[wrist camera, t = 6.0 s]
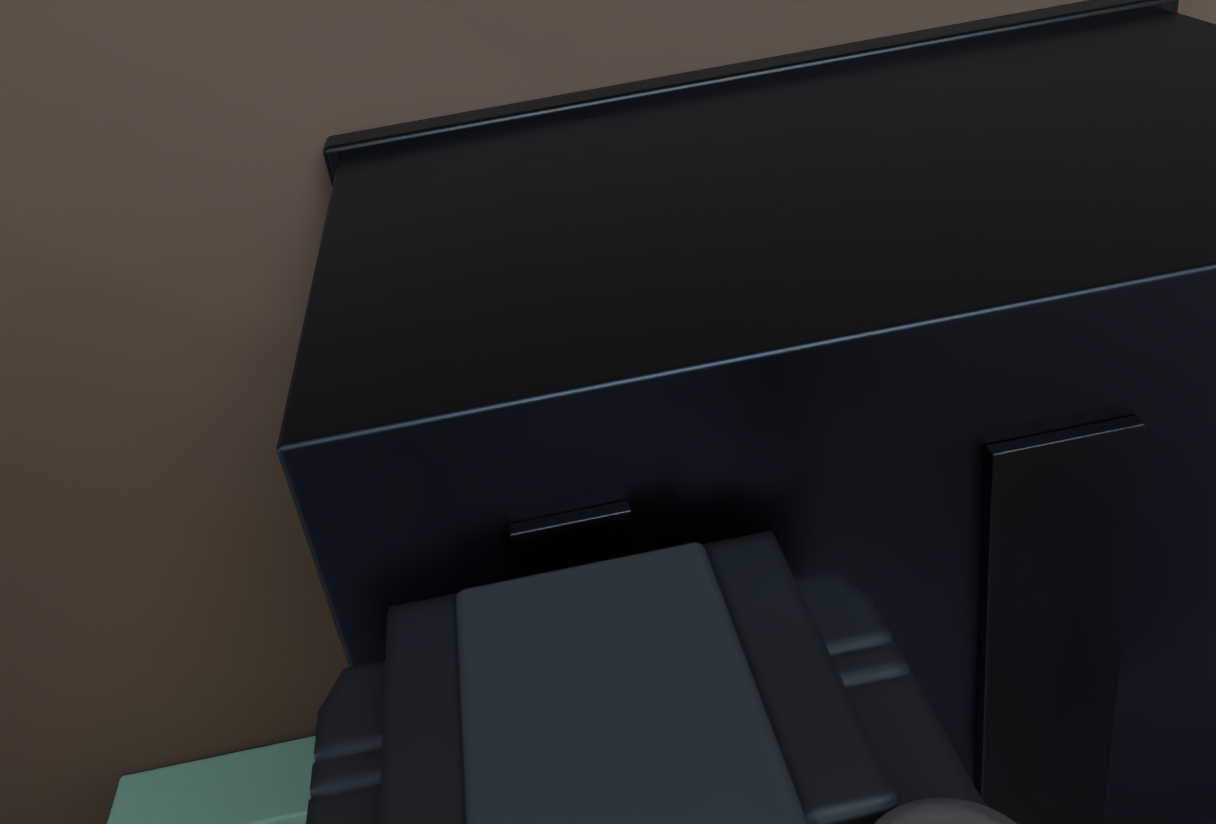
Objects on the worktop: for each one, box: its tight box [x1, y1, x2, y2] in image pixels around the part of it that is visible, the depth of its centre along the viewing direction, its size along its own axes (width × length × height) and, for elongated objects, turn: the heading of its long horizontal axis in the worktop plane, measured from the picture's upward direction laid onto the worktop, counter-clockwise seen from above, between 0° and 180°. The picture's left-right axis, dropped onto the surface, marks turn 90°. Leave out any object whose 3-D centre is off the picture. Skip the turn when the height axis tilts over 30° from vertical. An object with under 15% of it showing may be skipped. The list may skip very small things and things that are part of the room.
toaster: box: [277, 0, 1216, 824], centre depth 18 cm, size 14×11×10 cm
